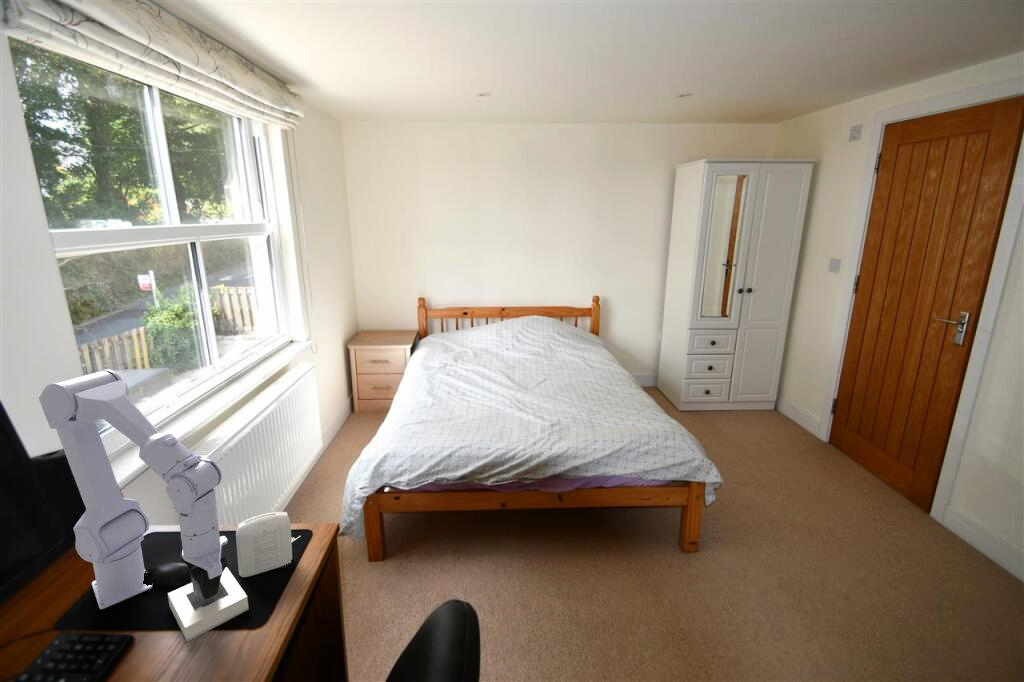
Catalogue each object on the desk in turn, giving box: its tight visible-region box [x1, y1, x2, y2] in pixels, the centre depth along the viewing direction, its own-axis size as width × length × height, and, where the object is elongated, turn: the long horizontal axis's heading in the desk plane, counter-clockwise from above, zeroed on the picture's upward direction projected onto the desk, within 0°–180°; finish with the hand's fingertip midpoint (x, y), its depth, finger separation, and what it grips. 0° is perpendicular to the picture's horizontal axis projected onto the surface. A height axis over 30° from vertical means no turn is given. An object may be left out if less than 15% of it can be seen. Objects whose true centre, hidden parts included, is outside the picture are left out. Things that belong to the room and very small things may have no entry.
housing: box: [167, 567, 249, 642], centre depth 88 cm, size 11×10×3 cm
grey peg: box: [190, 565, 220, 607], centre depth 87 cm, size 4×4×7 cm
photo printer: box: [235, 511, 293, 578], centre depth 98 cm, size 10×4×12 cm, turn 124°
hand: (207, 589), depth 87 cm, fingers closed on grey peg, 4 cm apart
